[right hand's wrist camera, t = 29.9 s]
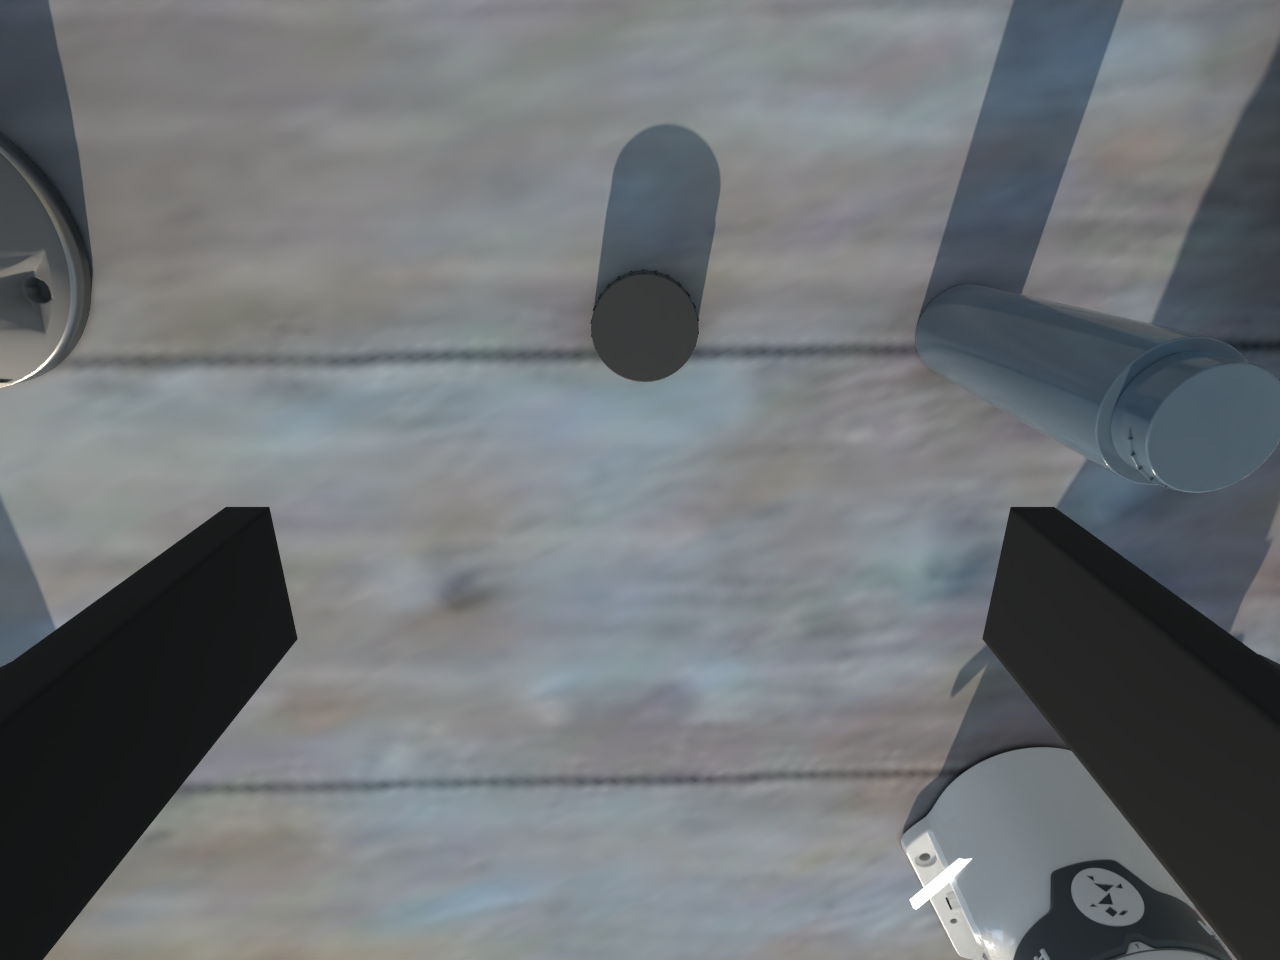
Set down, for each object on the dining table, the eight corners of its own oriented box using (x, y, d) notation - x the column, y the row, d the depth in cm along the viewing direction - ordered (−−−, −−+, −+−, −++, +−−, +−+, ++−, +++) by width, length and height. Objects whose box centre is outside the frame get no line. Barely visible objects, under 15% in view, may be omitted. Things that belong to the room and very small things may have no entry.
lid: (682, 256, 39) (684, 258, 37) (707, 359, 41) (710, 367, 39) (579, 285, 40) (576, 289, 38) (609, 386, 42) (607, 395, 40)
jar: (941, 394, 42) (1166, 535, 24) (898, 321, 40) (1105, 412, 22) (1024, 342, 41) (1326, 447, 23) (983, 263, 39) (1274, 312, 21)
